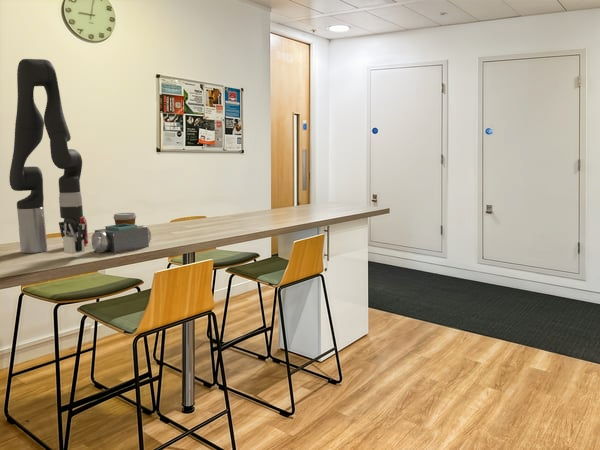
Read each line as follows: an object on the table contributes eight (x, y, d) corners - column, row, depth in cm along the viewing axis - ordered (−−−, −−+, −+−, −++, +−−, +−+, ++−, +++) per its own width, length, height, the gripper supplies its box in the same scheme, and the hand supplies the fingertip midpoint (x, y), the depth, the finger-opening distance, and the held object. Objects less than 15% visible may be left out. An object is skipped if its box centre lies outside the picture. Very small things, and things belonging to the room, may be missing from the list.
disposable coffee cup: (110, 242, 220) (108, 214, 218) (124, 238, 229) (122, 212, 227) (128, 243, 216) (126, 215, 215) (142, 239, 225) (140, 212, 224)
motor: (89, 251, 199) (87, 228, 198) (136, 242, 217) (134, 221, 216) (107, 254, 192) (106, 230, 191) (154, 245, 210) (153, 223, 209)
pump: (64, 252, 188) (62, 232, 186) (76, 250, 192) (75, 230, 191) (72, 254, 185) (70, 233, 184) (84, 251, 189) (83, 231, 188)
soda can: (82, 243, 218) (80, 215, 217) (92, 245, 214) (89, 216, 212) (66, 246, 212) (64, 217, 211) (76, 247, 208) (73, 218, 207)
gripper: (50, 204, 186) (53, 250, 189) (72, 206, 179) (76, 254, 181) (69, 202, 193) (72, 247, 195) (92, 204, 185) (95, 250, 187)
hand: (74, 250), depth 188 cm, fingers closed on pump, 5 cm apart
